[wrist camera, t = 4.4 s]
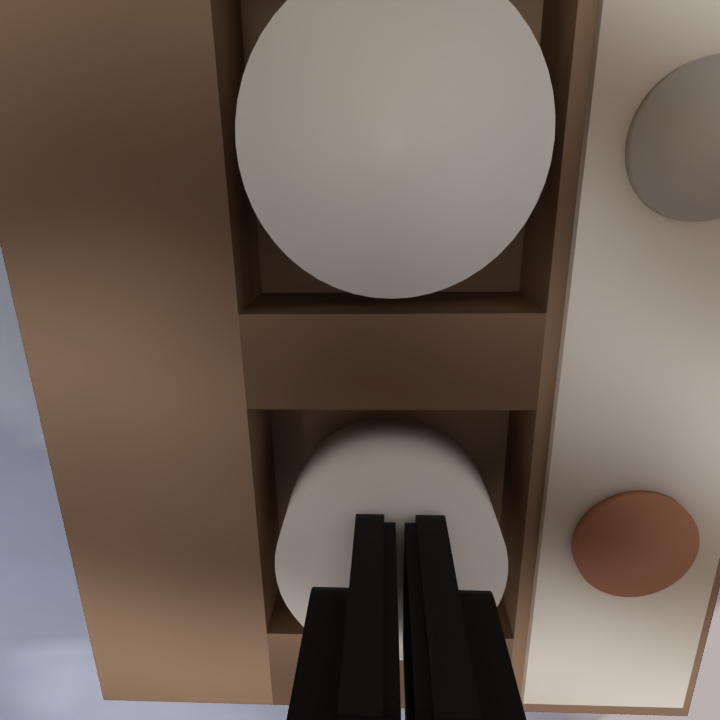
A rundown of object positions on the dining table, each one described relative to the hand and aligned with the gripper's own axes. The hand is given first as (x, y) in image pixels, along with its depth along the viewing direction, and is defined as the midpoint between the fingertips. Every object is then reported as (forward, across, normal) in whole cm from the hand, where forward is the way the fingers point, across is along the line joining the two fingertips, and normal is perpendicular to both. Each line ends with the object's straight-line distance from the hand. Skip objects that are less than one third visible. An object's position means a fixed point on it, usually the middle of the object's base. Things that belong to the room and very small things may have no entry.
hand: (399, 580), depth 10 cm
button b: (+2, 0, -8) cm, 8 cm away
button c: (+2, 0, 0) cm, 2 cm away
